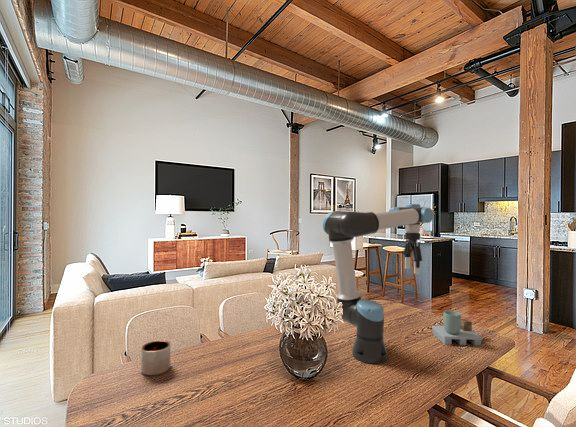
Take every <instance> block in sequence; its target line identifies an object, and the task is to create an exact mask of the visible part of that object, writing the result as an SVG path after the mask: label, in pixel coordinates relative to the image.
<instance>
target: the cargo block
mask: <svg viewBox="0 0 576 427" xmlns="http://www.w3.org/2000/svg"><path fill="white" fill-rule="evenodd" d="M461 330H463V331H473V322H472V320H469V319H468V318H461Z"/></svg>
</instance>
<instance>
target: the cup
mask: <svg viewBox="0 0 576 427" xmlns="http://www.w3.org/2000/svg"><path fill="white" fill-rule="evenodd" d="M442 317H443V318H442V320H443V322H442V323H443V326H444V329H445V331H446V332H448V333H450V334H458V333H459V332H460V329H461V319H462V313H460V312H459V311H457V310H456V311H455V310H452V309H451V310H446V309H445V310H444V311H443V316H442Z"/></svg>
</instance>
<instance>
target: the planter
mask: <svg viewBox="0 0 576 427" xmlns="http://www.w3.org/2000/svg"><path fill="white" fill-rule="evenodd" d="M140 356H141V357H140V358H141V359H140V360H141V361H140V363H141V364H140V370H141V373H142V374H143V375H145V376H149V375H151V376H152V375H153V376H158V375H162V374H164V373H165V372H167V371H168V370H170V368H171V343H170V341H169V340H161V339H160V340H152V341H150V342H147V343H145V344H142V346H141V354H140ZM153 376H152V377H153Z"/></svg>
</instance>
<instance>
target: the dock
mask: <svg viewBox="0 0 576 427" xmlns="http://www.w3.org/2000/svg"><path fill="white" fill-rule="evenodd" d="M431 328H432V334H433V335H434V336H435V337H436V338H437V339H439V341H441V342H442V343H443V344H444V345H446V346H448V345H449V346H451V345H453V344H452V343H453V342H452V341H454V342H456V343H457V344H458V345H459V346H467V341H468V342H469V343H471V344H472V345H473V346H482V340H483V337H482V336H481V335H480V334H478V333H477V332H476V331H474V330H472V331H463V330H461V329H460V332H459V333H458V334H450V333H448V332H446V331H445V329H444V325H431Z"/></svg>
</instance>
